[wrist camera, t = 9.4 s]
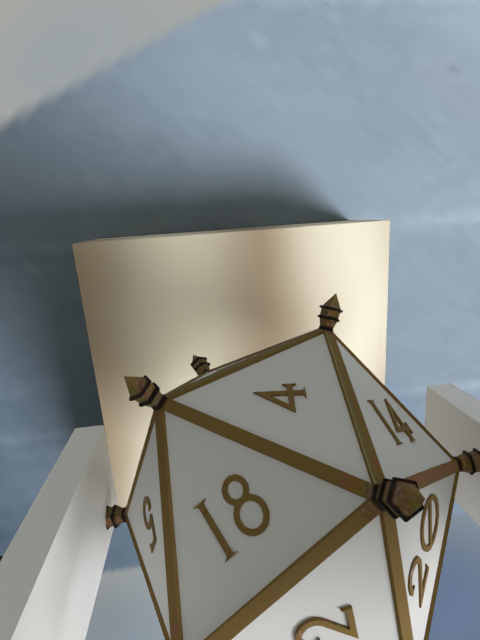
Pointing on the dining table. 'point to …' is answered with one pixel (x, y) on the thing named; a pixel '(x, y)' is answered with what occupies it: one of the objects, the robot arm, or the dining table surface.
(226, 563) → the game die
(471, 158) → the dining table surface
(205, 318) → the birch base
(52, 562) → the robot arm
